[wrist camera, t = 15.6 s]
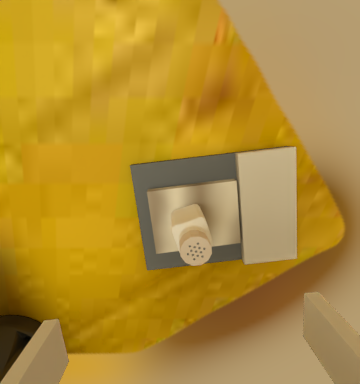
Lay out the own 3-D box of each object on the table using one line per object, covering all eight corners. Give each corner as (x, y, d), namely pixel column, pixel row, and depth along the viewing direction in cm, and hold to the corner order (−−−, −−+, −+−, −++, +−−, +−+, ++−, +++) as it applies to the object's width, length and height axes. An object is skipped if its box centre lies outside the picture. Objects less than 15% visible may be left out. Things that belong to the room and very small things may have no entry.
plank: (156, 248, 35) (156, 254, 34) (147, 189, 33) (146, 191, 32) (237, 238, 35) (240, 242, 34) (233, 178, 33) (236, 180, 32)
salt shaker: (197, 201, 32) (209, 226, 23) (206, 227, 33) (221, 262, 24) (169, 210, 32) (170, 239, 23) (178, 236, 33) (183, 275, 24)
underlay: (148, 266, 37) (146, 276, 35) (131, 164, 34) (127, 167, 31) (288, 250, 37) (296, 258, 35) (286, 146, 34) (296, 146, 31)
